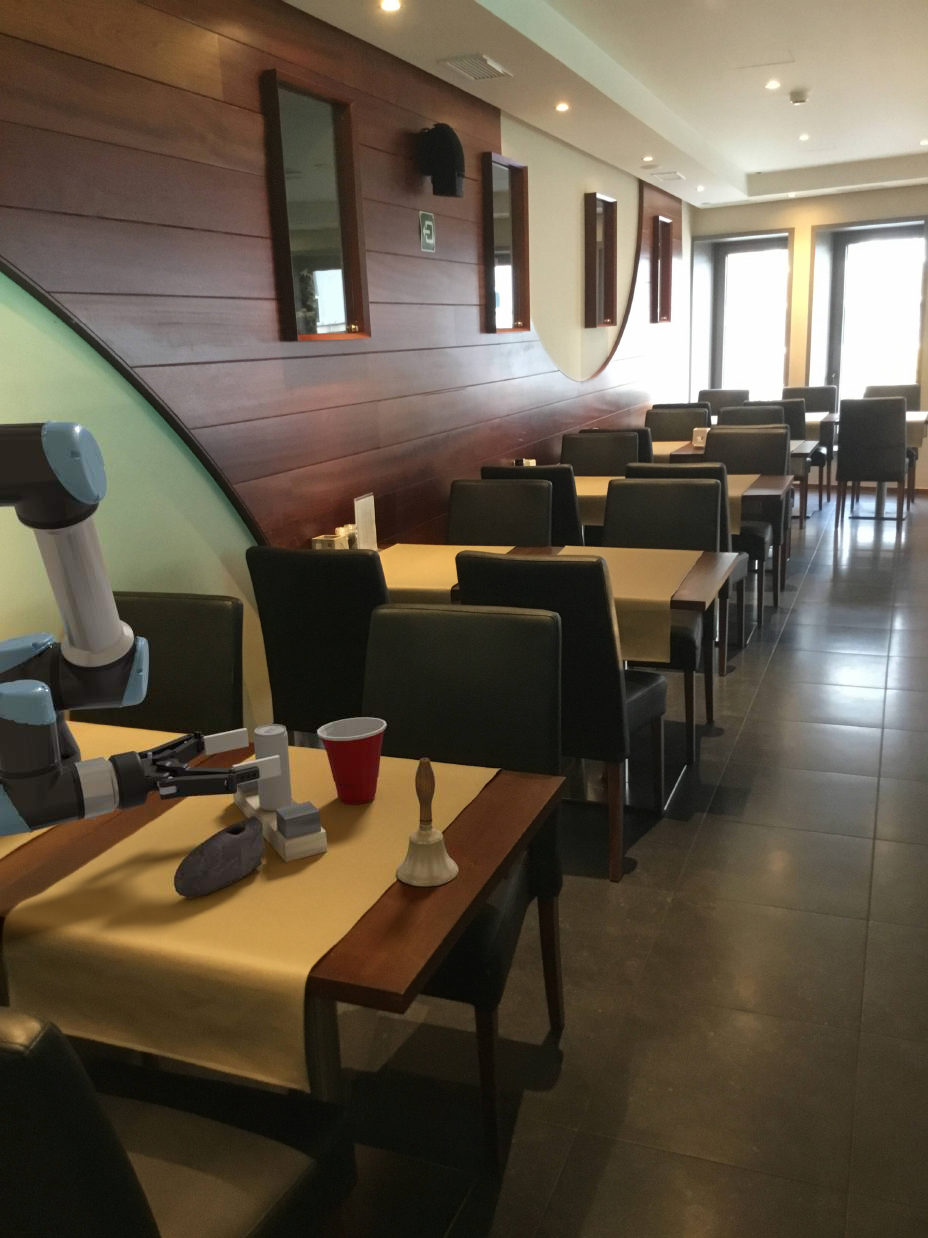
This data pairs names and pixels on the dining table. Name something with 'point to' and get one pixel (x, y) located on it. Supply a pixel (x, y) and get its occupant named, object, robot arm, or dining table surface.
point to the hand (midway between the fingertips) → (263, 750)
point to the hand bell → (426, 840)
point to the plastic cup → (354, 756)
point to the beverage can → (278, 787)
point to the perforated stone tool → (221, 859)
